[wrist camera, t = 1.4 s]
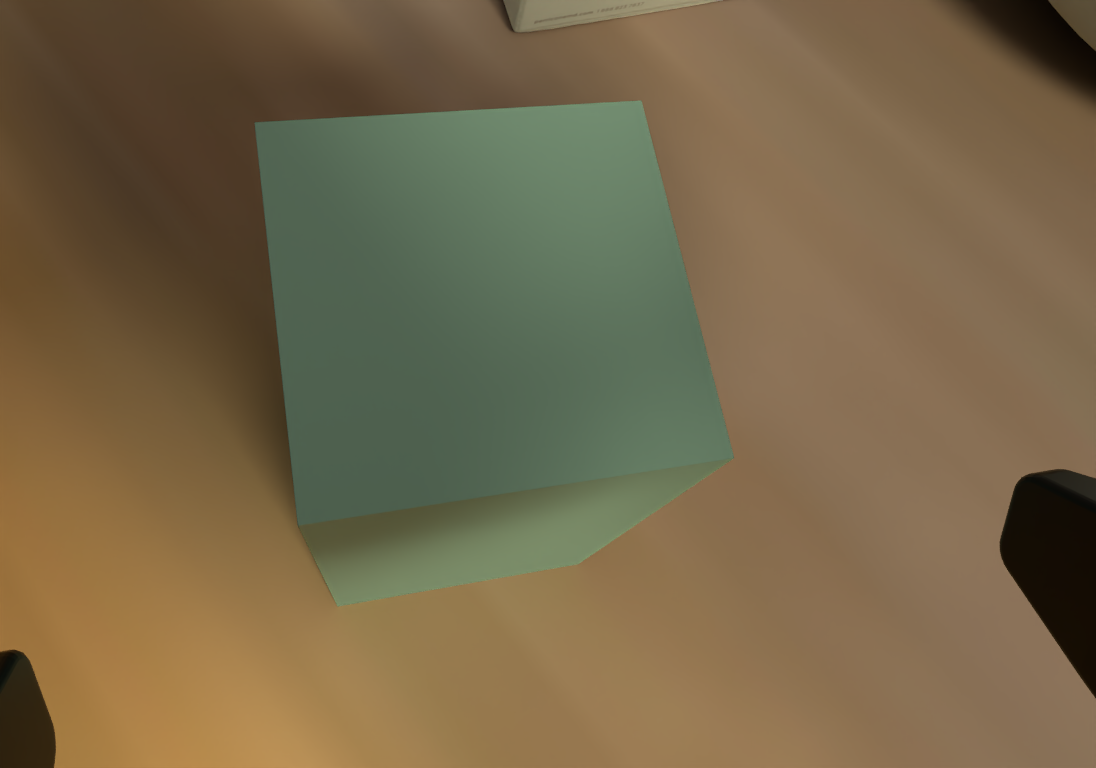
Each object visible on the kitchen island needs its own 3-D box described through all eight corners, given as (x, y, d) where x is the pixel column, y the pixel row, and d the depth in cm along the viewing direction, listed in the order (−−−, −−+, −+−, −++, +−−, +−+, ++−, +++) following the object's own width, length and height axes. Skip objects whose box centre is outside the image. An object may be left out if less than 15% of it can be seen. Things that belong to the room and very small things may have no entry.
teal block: (578, 563, 19) (734, 458, 11) (337, 606, 18) (298, 525, 9) (534, 345, 20) (641, 100, 12) (310, 372, 19) (254, 122, 11)
